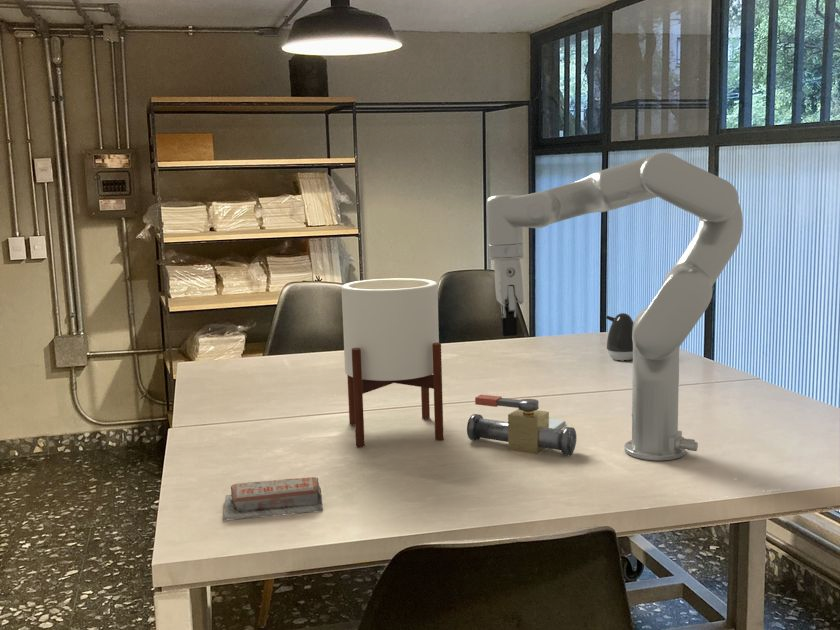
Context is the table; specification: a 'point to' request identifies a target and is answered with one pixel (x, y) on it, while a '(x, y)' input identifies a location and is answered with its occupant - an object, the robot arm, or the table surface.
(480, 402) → the valve lever
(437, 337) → the plant pot with stand
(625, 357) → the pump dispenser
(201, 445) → the table surface
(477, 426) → the pipe and valve body
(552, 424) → the hard drive
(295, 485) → the packaged product
